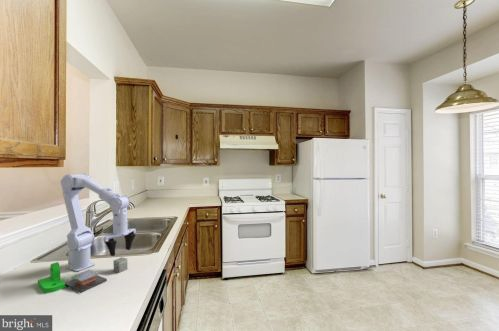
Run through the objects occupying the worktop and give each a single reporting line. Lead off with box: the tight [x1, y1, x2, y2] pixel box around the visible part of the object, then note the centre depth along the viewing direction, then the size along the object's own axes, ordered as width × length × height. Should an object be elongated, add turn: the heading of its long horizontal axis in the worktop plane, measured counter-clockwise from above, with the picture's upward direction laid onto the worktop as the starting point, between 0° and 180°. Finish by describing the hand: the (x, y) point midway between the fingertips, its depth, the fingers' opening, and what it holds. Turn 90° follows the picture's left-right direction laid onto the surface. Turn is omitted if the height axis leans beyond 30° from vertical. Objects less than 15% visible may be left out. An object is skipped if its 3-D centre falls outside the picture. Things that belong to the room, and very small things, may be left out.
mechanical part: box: [37, 261, 66, 294], centre depth 94 cm, size 12×6×8 cm, turn 52°
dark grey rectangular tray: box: [64, 269, 108, 294], centre depth 97 cm, size 12×10×4 cm
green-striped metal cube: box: [113, 257, 128, 274], centre depth 108 cm, size 4×4×5 cm
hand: (120, 252), depth 108 cm, fingers open, 7 cm apart
